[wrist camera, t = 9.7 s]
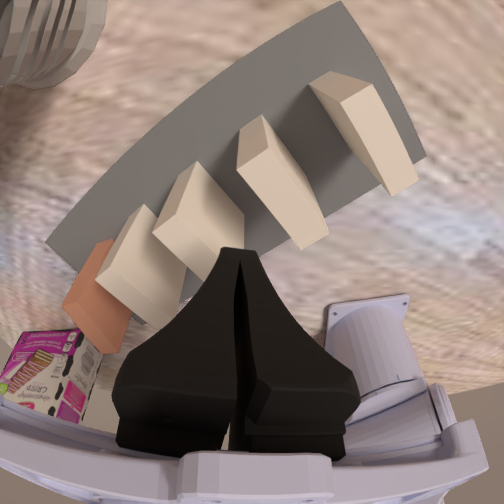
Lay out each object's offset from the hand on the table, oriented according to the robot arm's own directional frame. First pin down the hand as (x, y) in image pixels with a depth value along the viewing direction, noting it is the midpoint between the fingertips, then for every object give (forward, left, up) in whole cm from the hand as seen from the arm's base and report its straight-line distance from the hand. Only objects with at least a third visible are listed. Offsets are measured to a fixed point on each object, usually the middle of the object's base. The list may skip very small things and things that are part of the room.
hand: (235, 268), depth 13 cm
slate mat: (-1, +2, -10) cm, 10 cm away
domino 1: (-6, +11, -10) cm, 16 cm away
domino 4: (+1, -2, -10) cm, 10 cm away
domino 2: (-4, +6, -10) cm, 12 cm away
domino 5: (+4, -7, -10) cm, 12 cm away
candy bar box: (-17, +24, -10) cm, 31 cm away
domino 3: (-1, +2, -10) cm, 10 cm away
